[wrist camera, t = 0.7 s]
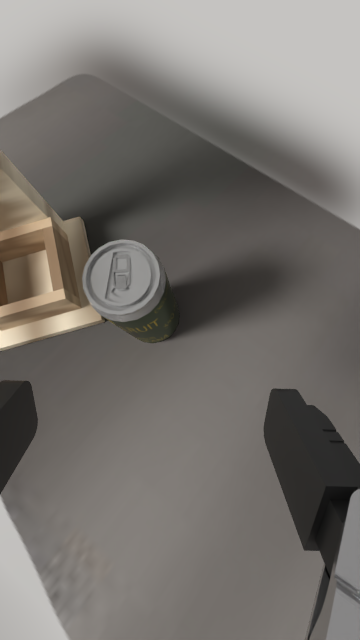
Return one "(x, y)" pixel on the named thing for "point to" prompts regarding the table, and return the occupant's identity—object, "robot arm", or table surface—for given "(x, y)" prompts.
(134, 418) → the table surface
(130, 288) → the green metal cylinder
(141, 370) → the table surface
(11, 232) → the wooden dispenser stand
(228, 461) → the table surface
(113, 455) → the table surface
